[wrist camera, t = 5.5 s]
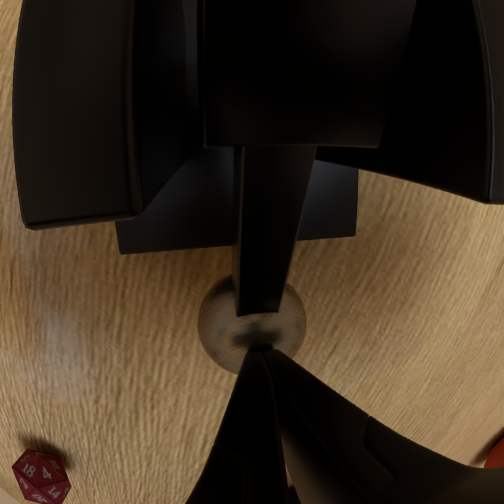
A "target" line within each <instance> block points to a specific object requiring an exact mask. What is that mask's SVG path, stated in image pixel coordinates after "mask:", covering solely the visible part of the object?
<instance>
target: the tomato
mask: <svg viewBox="0 0 504 504" xmlns="http://www.w3.org/2000/svg"><path fill="white" fill-rule="evenodd" d="M495 467H504V437H503V438H502V439H501V440H500V441H499V442H498V443H497V444H496V445H495V447H494V448H493V449H492V450H491V452H490V454H489V456H488V457H487V460H486V462H485V465H484V468H495Z"/></svg>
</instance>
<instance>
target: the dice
mask: <svg viewBox="0 0 504 504" xmlns="http://www.w3.org/2000/svg"><path fill="white" fill-rule="evenodd" d="M12 469H13V472H14V474H15V477H16V479H17V482H18V484H19V487H20V489H21V491H22V494H23V496H24V498H25V500H29V501H33V502H37V503H41V504H62V503H63V501H64V499H65V497H66V496H67V494H68V492H69V490H70V489H71V487H72V486H71V484H70V482H69V479H68V477H67V474H66V471H65V469H64V466H63V464H62V461H61V458H60V456H56V455H52V454H47V453H43V452H39V451H35V450H31V449H27V450H26V451H25V452H24V453H23V454H22V455H21V457H20V458H19V459H18V460H17V461H16V462H15V463H14V465H13V466H12Z"/></svg>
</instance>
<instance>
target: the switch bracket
mask: <svg viewBox="0 0 504 504" xmlns="http://www.w3.org/2000/svg"><path fill="white" fill-rule="evenodd" d="M12 127H13V148H14V162H15V172H16V181H17V189H18V197H19V204H20V210H21V216H22V222H23V224H24V226H25V228H27V229H31V230H35V231H37V230H45V229H53V228H61V227H69V226H77V225H85V224H94V223H103V222H112V221H115V226H116V233H117V239H118V246H119V252H120V254H122V255H124V254H136V253H148V252H160V251H172V250H184V249H197V248H209V247H222V246H232V203H233V152H234V147H227V148H209V149H207V148H203V147H202V145H201V143H200V130H199V104H198V67H197V0H23V2H22V7H21V12H20V18H19V25H18V31H17V39H16V48H15V58H14V71H13V91H12ZM359 169H361V170H365V171H370V172H374V173H378V174H383V175H387V176H391V177H395V178H399V179H402V180H406V181H410V182H414V183H418V184H421V185H425V186H428V187H432V188H435V189H439V190H442V191H446V192H449V193H452V194H455V195H459V196H462V197H465V198H468V199H471V200H474V201H477V202H480V203H483V204H495V205H504V0H419V4H418V9H417V14H416V18H415V23H414V27H413V32H412V36H411V40H410V44H409V49H408V53H407V57H406V60H405V64H404V68H403V72H402V76H401V79H400V83H399V87H398V90H397V94H396V97H395V101H394V104H393V107H392V111H391V114H390V117H389V121H388V124H387V127H386V130H385V133H384V137H383V140H382V143H381V145H380V147H379V148H361V147H337V146H317V150H316V155H315V160H314V164H313V169H312V174H311V178H310V183H309V188H308V192H307V197H306V201H305V206H304V210H303V214H302V219H301V223H300V227H299V232H298V236H297V240H296V241H300V240H313V239H327V238H341V237H354V236H355V235H356V221H357V202H358V170H359Z"/></svg>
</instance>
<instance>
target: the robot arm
mask: <svg viewBox="0 0 504 504" xmlns="http://www.w3.org/2000/svg"><path fill="white" fill-rule="evenodd" d="M368 417H369V418H368ZM285 463H286V466H287V469H288V471H289V474H290V477H291V479H292V482H293V484H294V487H293V488H291V489H289V490H288V483H287V475H286V468H285ZM185 504H504V467H495V468H477V467H471V466H467V465H464V464H461V463H459V462H456V461H454V460H452V459H449V458H447V457H445V456H443V455H441V454H438V453H436V452H434V451H432V450H430V449H428V448H426V447H423V446H421V445H419V444H417V443H415V442H413V441H411V440H410V439H408V438H406V437H404V436H402V435H400V434H398V433H397V432H395V431H393V430H392V429H390V428H389V427H387V426H385V425H384V424H382V423H381V422H379V421H378V420H376V419H375V418H373V417H372V416H369V415H368V414H367V413H366V412H364V411H363V410H361V409H360V408H359V407H357V406H356V405H354V404H353V403H351V402H350V401H348V400H347V399H346V398H344V397H343V396H341V395H340V394H339V393H337V392H336V391H334V390H333V389H332V388H330V387H329V386H327V385H326V384H325V383H323V382H322V381H321V380H319V379H318V378H316V377H315V376H314V375H312V374H311V373H310V372H308V371H307V370H306V369H304V368H303V367H302V366H300V365H299V364H297V363H296V362H295V361H293V360H292V359H291V358H290V357H288V356H287V355H286V354H284V353H283V352H282V351H280V350H279V349H273V350H265V351H263V353H262V352H260V351H257V352H248V353H246V354H245V356H244V359H243V362H242V365H241V368H240V371H239V374H238V377H237V380H236V382H235V385H234V388H233V391H232V394H231V397H230V399H229V402H228V405H227V408H226V411H225V413H224V416H223V419H222V422H221V425H220V427H219V430H218V433H217V436H216V438H215V441H214V445H213V446H212V449H211V451H210V454H209V457H208V459H207V462H206V464H205V466H204V469H203V471H202V473H201V476H200V478H199V479H198V481H197V483H196V485H195V487H194V489H193V491H192V493H191V494H190V496H189V498H188V499H187V501H186V503H185Z"/></svg>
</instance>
